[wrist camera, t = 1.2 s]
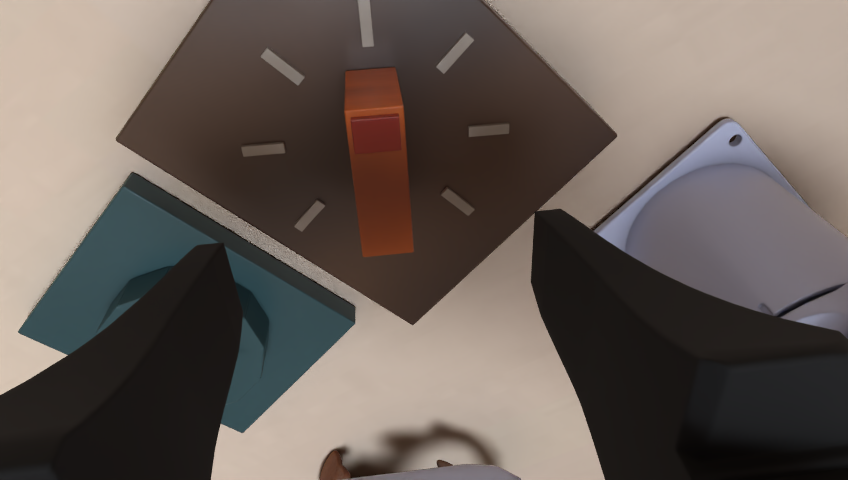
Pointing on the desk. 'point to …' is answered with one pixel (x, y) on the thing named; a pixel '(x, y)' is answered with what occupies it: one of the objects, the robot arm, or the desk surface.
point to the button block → (154, 257)
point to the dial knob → (379, 160)
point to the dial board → (327, 136)
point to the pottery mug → (337, 472)
